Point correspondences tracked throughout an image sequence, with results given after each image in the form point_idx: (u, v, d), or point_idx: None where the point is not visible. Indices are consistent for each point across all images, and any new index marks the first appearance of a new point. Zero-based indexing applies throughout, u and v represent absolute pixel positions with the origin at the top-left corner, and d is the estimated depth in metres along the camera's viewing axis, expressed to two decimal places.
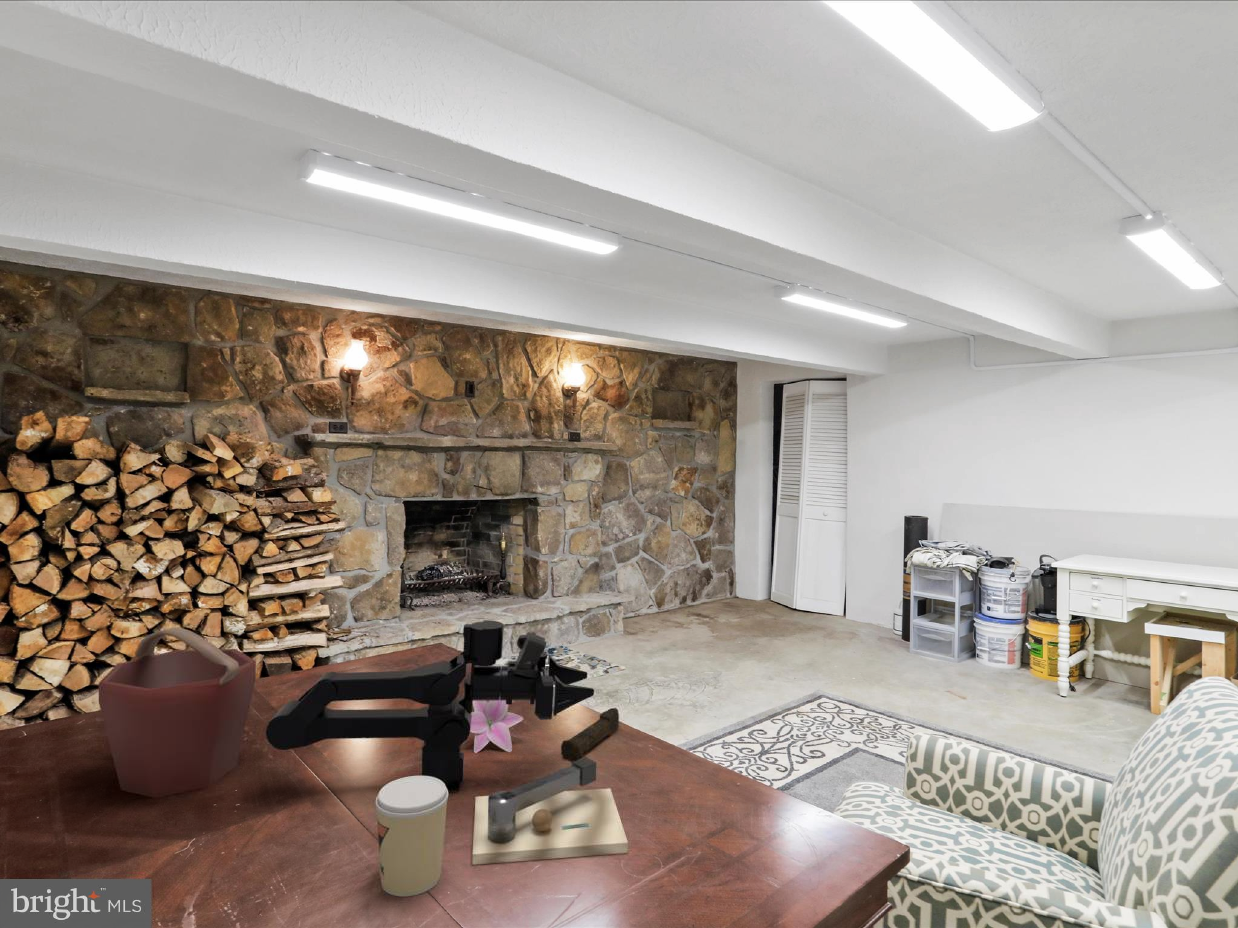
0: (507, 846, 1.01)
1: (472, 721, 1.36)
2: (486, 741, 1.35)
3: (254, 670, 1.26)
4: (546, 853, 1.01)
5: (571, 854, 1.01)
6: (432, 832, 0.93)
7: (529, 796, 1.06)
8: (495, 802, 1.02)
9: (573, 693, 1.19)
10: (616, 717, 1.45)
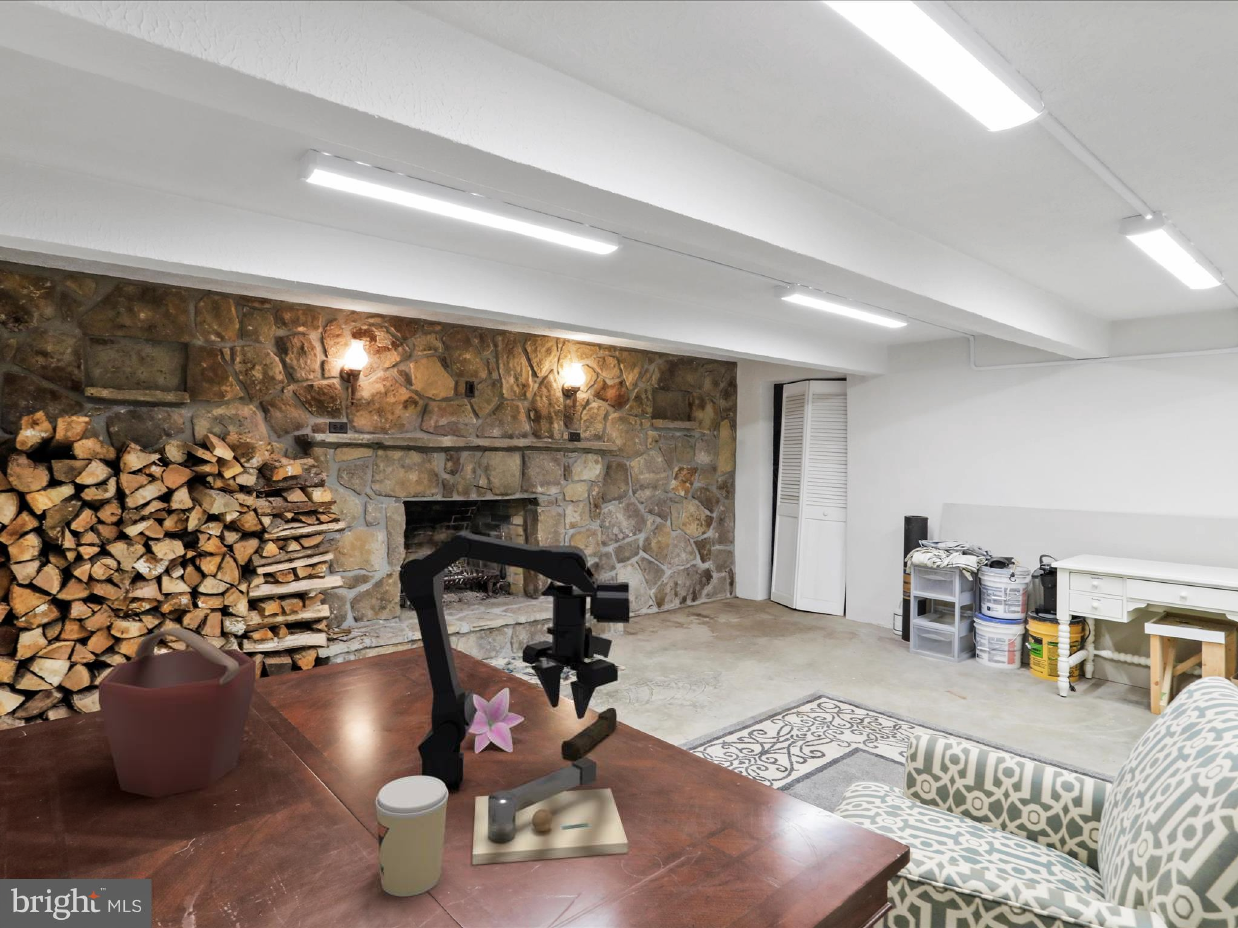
0: (507, 846, 1.01)
1: None
2: (487, 741, 1.35)
3: (254, 670, 1.26)
4: (546, 853, 1.01)
5: (571, 854, 1.01)
6: (432, 832, 0.93)
7: (529, 796, 1.06)
8: (495, 802, 1.02)
9: (586, 698, 1.17)
10: (614, 717, 1.45)
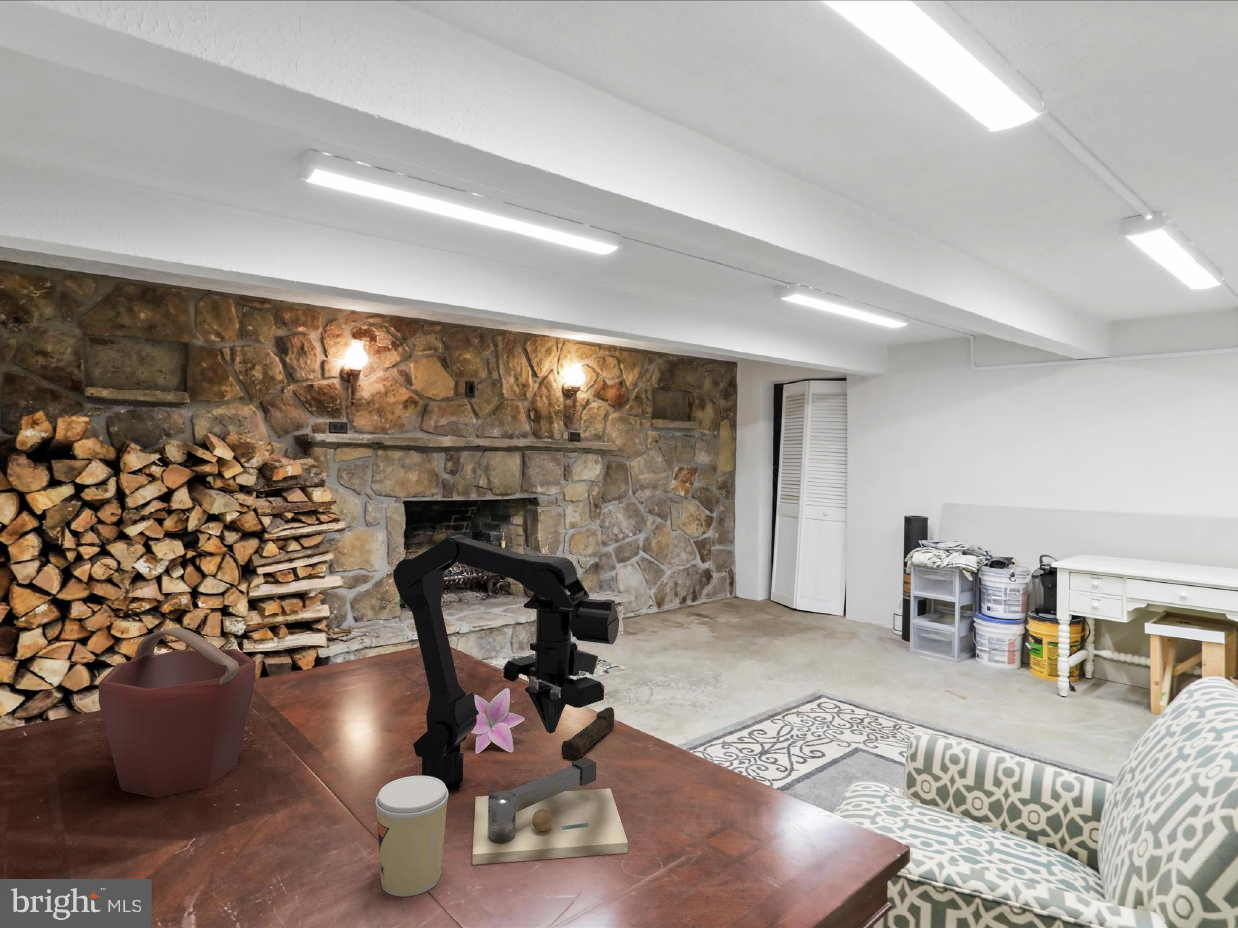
0: (507, 846, 1.01)
1: None
2: (487, 742, 1.35)
3: (254, 670, 1.26)
4: (546, 853, 1.01)
5: (571, 854, 1.01)
6: (432, 832, 0.93)
7: (529, 796, 1.06)
8: (495, 802, 1.02)
9: (557, 712, 1.14)
10: (612, 716, 1.46)
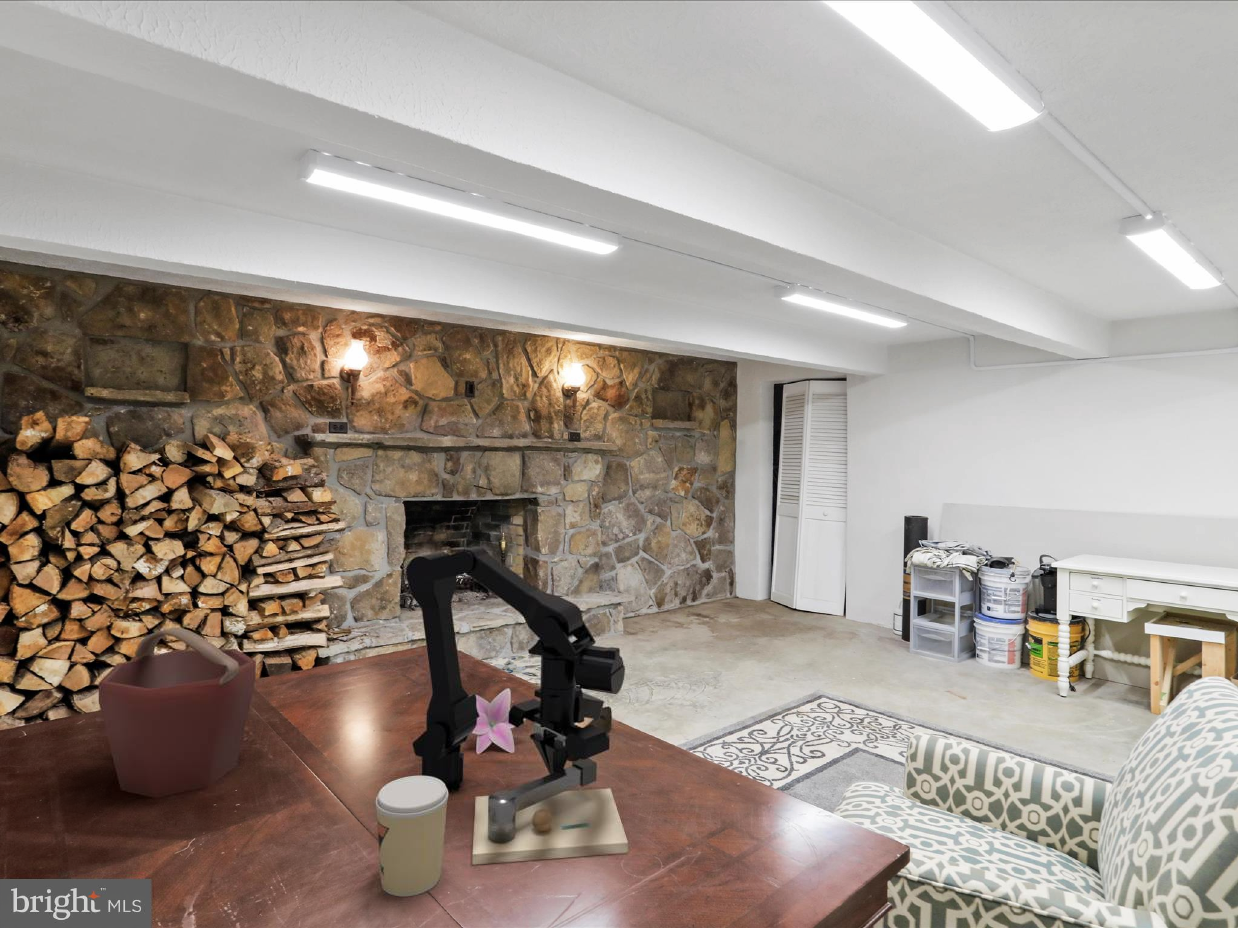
0: (507, 846, 1.01)
1: None
2: (488, 742, 1.35)
3: (254, 670, 1.26)
4: (546, 853, 1.01)
5: (571, 854, 1.01)
6: (432, 832, 0.93)
7: (529, 797, 1.06)
8: (494, 802, 1.02)
9: (562, 759, 1.12)
10: (610, 715, 1.46)
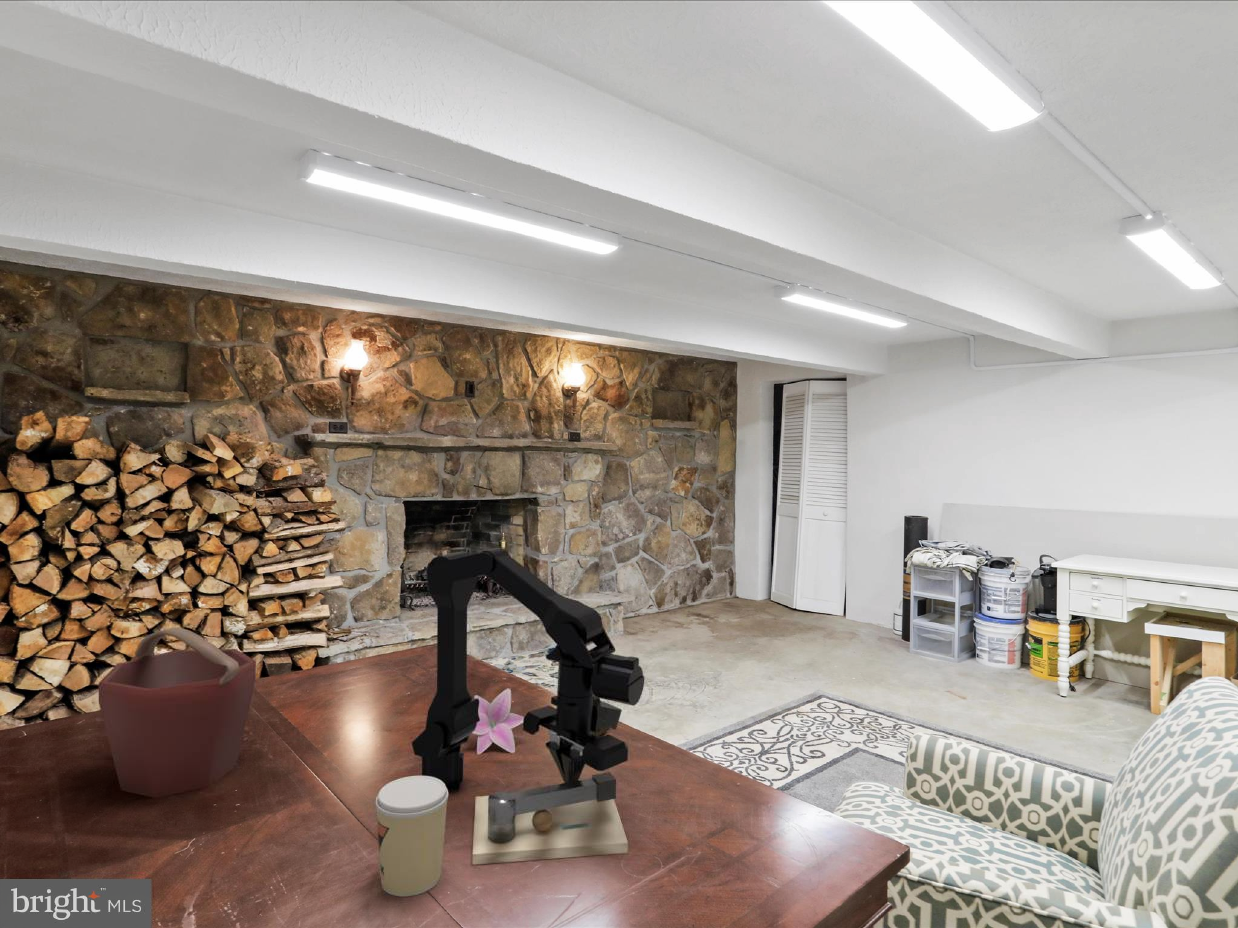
0: (507, 846, 1.01)
1: None
2: (489, 742, 1.35)
3: (254, 670, 1.26)
4: (546, 853, 1.01)
5: (571, 854, 1.01)
6: (432, 832, 0.93)
7: (532, 802, 1.04)
8: (491, 801, 1.02)
9: (578, 769, 1.09)
10: None
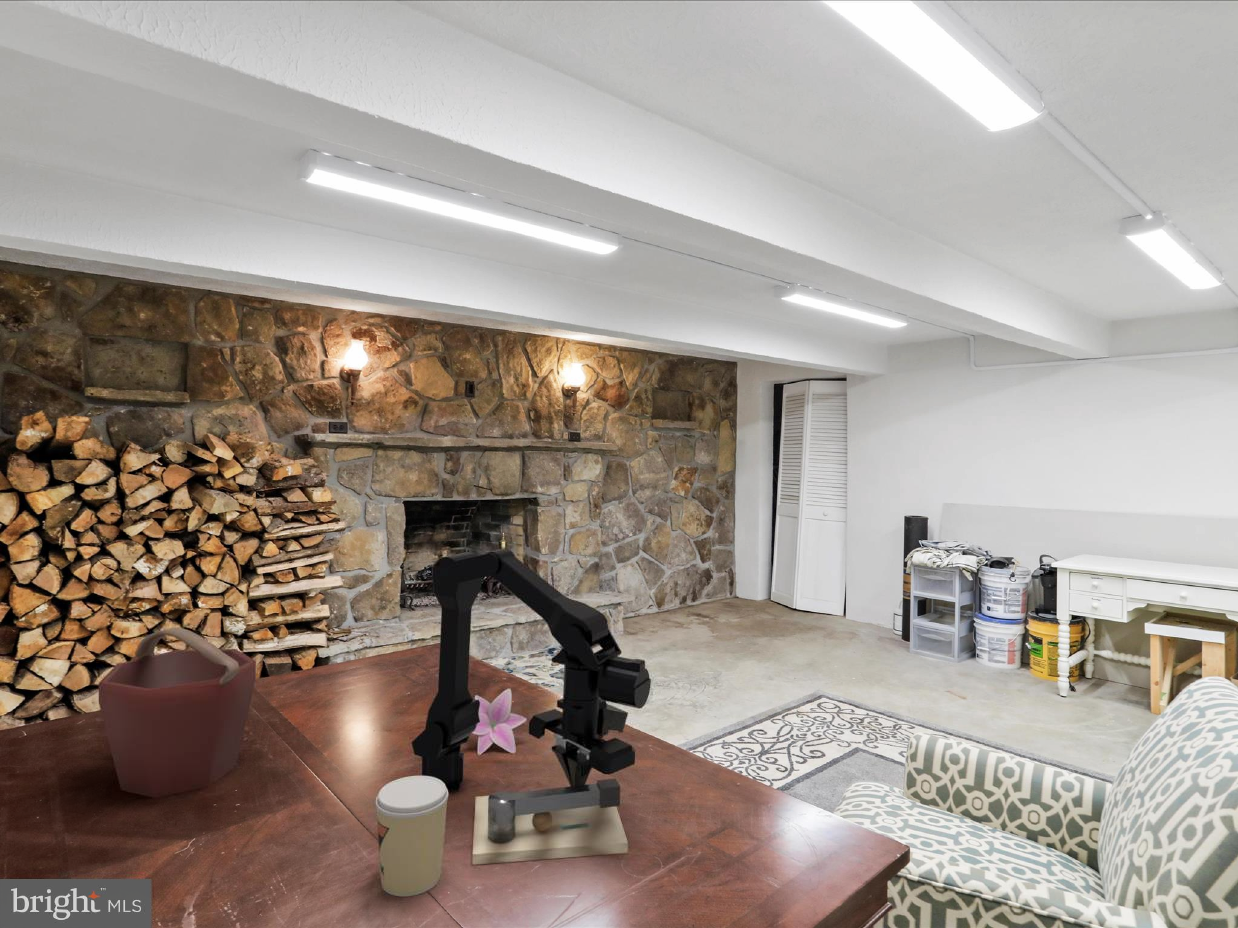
0: (507, 846, 1.01)
1: None
2: (489, 742, 1.35)
3: (254, 670, 1.26)
4: (546, 853, 1.01)
5: (571, 854, 1.01)
6: (432, 832, 0.93)
7: (532, 804, 1.03)
8: (491, 800, 1.02)
9: (584, 773, 1.08)
10: None
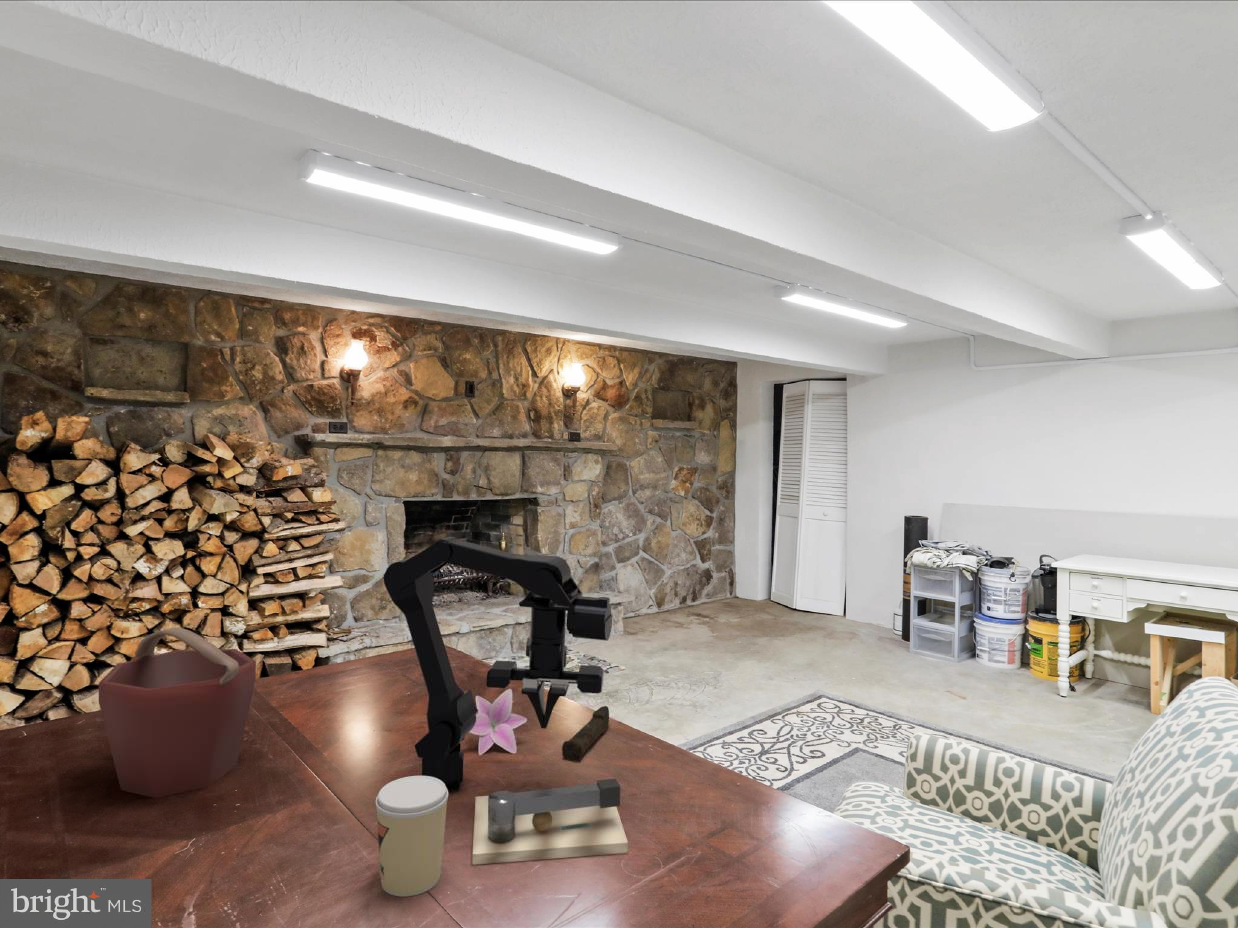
0: (507, 846, 1.01)
1: (476, 723, 1.35)
2: (490, 743, 1.34)
3: (254, 670, 1.26)
4: (546, 853, 1.01)
5: (571, 854, 1.01)
6: (432, 832, 0.93)
7: (532, 804, 1.03)
8: (491, 800, 1.02)
9: None
10: (608, 715, 1.46)
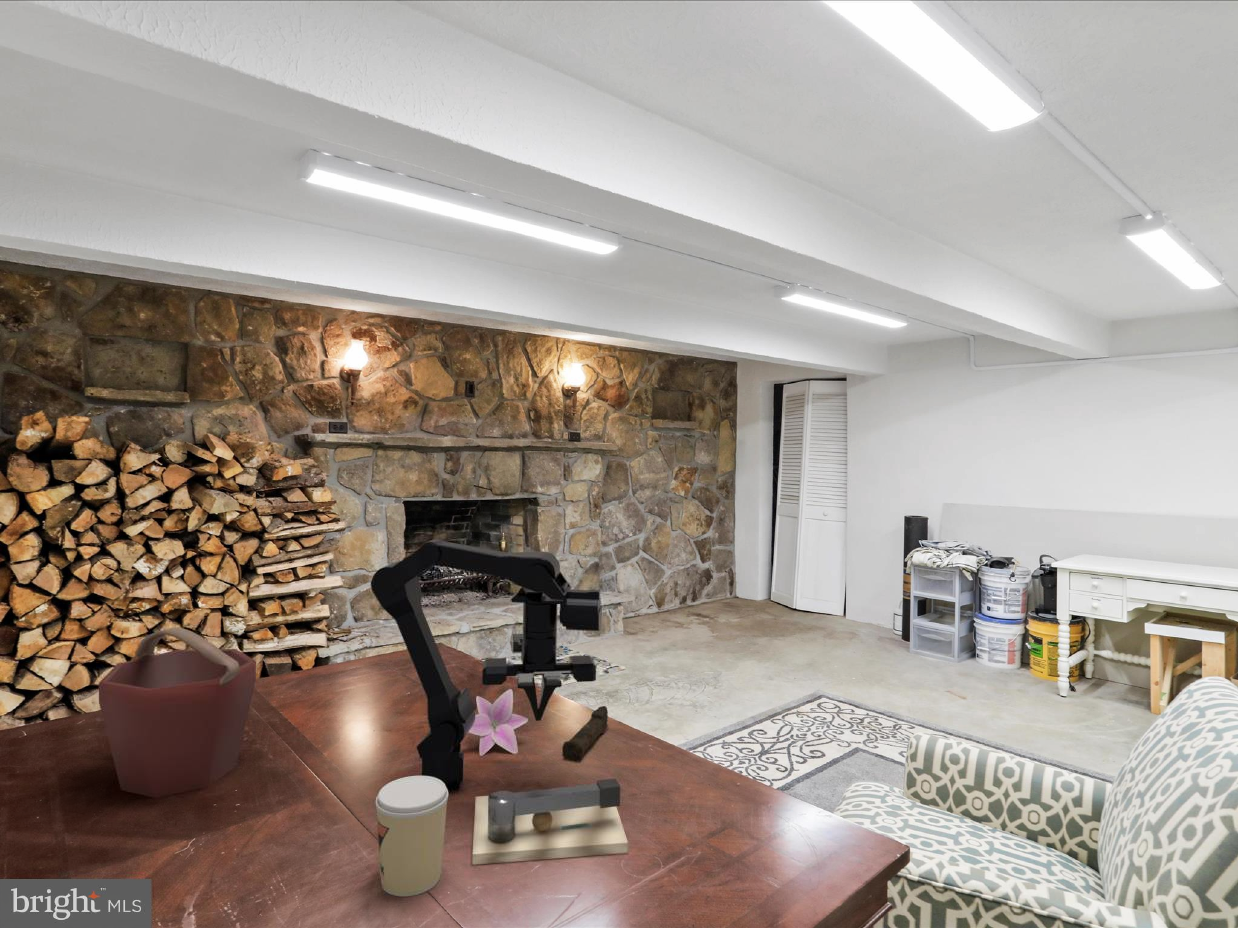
0: (507, 846, 1.01)
1: (477, 723, 1.35)
2: (491, 743, 1.34)
3: (254, 670, 1.26)
4: (546, 853, 1.01)
5: (571, 854, 1.01)
6: (432, 832, 0.93)
7: (532, 804, 1.03)
8: (491, 800, 1.02)
9: None
10: (606, 715, 1.46)
